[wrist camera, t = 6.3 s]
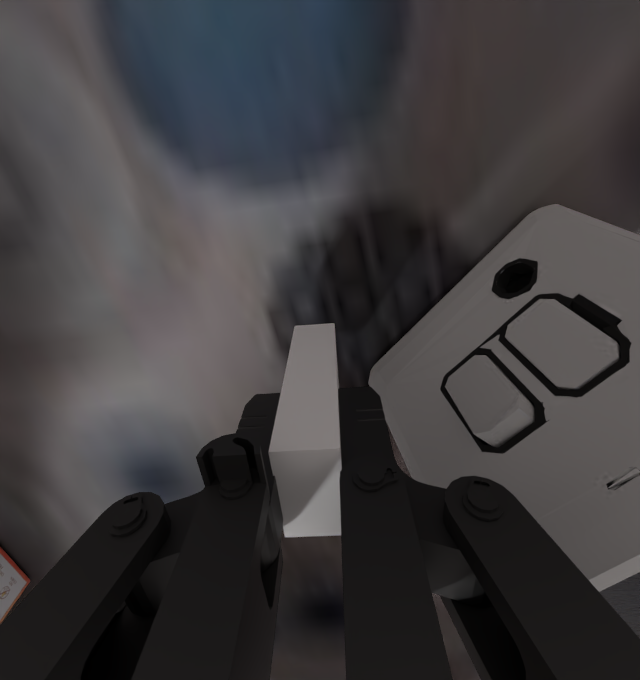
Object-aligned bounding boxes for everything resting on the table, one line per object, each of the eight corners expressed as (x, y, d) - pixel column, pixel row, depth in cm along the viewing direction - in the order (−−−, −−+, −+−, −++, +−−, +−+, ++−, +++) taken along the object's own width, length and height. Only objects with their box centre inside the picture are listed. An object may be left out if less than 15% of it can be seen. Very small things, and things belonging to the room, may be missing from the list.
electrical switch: (540, 194, 12) (996, 297, 4) (612, 281, 14) (1028, 468, 6) (361, 370, 16) (428, 616, 8) (437, 423, 17) (557, 665, 9)
